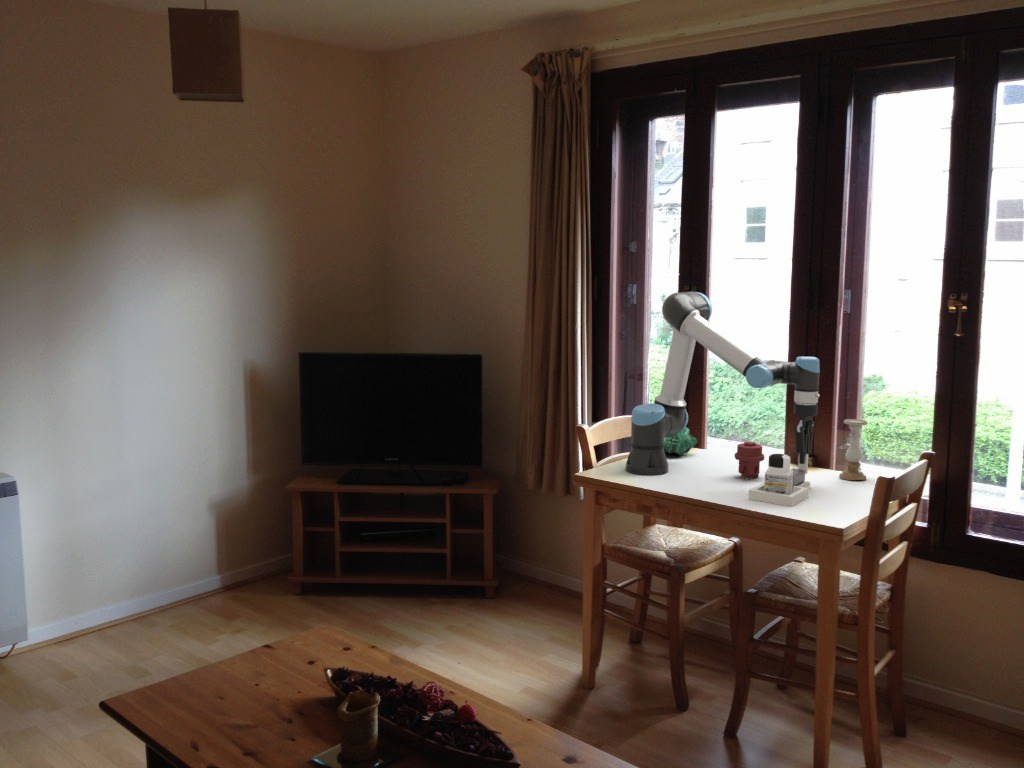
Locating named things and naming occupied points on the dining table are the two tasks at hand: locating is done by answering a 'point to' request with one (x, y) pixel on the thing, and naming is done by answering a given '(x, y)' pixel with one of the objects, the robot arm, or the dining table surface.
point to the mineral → (679, 442)
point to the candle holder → (853, 451)
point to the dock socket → (780, 495)
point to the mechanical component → (749, 459)
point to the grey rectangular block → (798, 477)
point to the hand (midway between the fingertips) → (802, 472)
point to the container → (779, 475)
